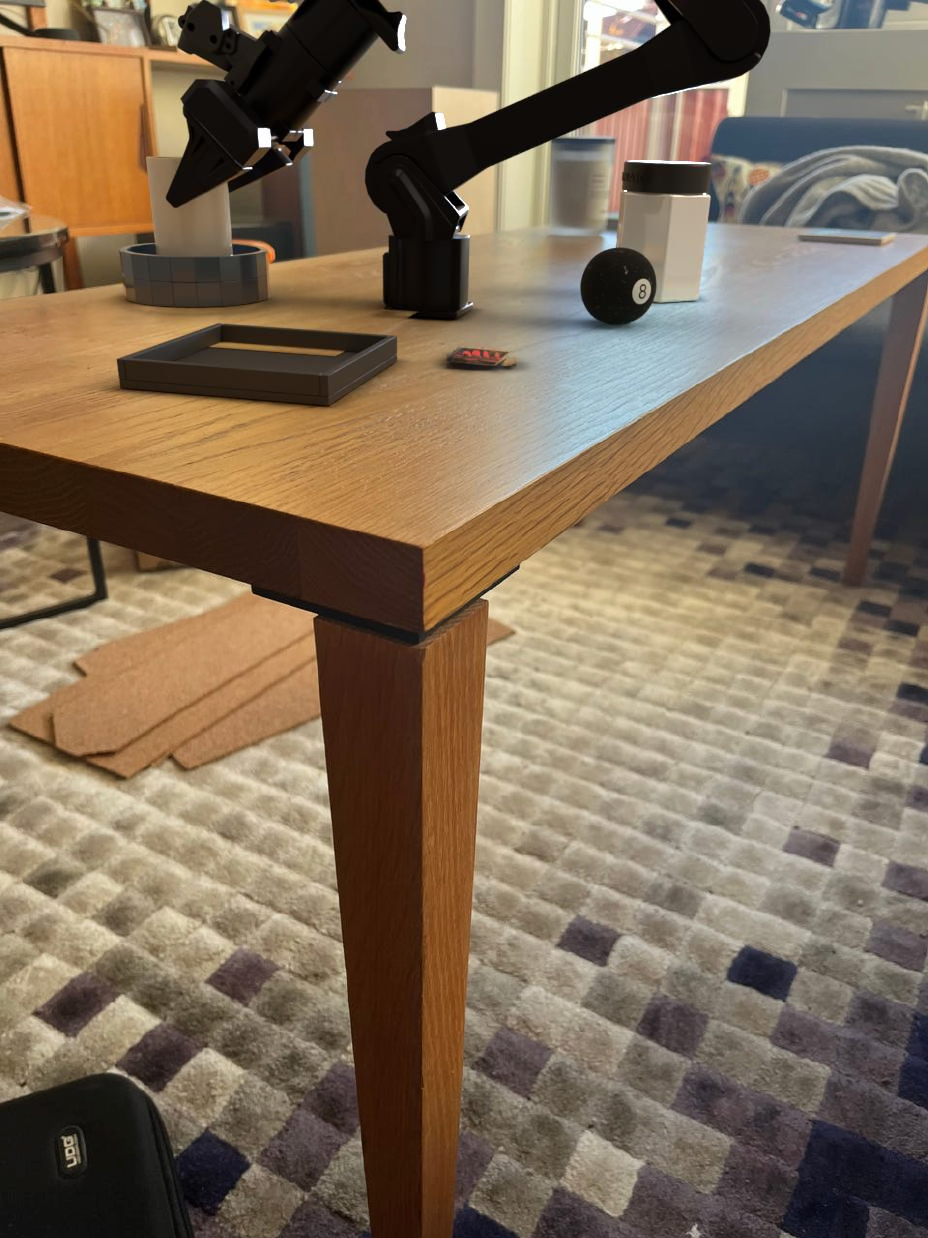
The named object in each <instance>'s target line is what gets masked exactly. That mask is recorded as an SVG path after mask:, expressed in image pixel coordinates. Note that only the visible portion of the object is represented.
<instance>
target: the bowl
mask: <svg viewBox="0 0 928 1238" xmlns="http://www.w3.org/2000/svg"><path fill="white" fill-rule="evenodd" d="M232 246H233V255H224V256H164V255H156V248H155V242H147V243H138V244H137V243H136V244H131V245H125V246H123V247H121V248H119V249H118V252H119V260H120V269H121V278H122V286H123V293H124V294H123V295H124V298H125V299H126V300H127V301H129V302H132V303H135V304H138V305H139V304H140V305H145V306H156V307H168V308H169V307H170V308H213V307H214V308H216V307H231V306H242V305H248V304H255V303H259V302H263V301H265V300H268V299H269V298H270V297H271V283H270V264H269V249H268V248H266V247H264V246H261V245H255V244H249V243H248V244H247V243H240V242H239V243H237V242H232Z"/></svg>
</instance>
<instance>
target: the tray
mask: <svg viewBox="0 0 928 1238" xmlns="http://www.w3.org/2000/svg"><path fill="white" fill-rule="evenodd" d="M220 343H235V344H236V343H237V344H246V345H247V344H248V345H260V346H261V345H262V346H273V347H274V346H277V347H290V348H303V349H316V350H328V351H329V350H331V351H342V352H340V353H338V354H337V355H335V356H334V355H322V354H309V353H298V352H297V353H295V352H282V351H270V350H269V351H267V350H255V349H244V348H243V349H242V348H231V347H230V348H229V347H218V346H217V347H214V346H216V345H218V344H220ZM397 362H398V336H397V335H394V334H391V335H389V334H378V333H365V332H363V333H362V332H351V331H350V332H349V331H336V330H323V329H322V330H320V329H309V328H308V329H307V328H294V327H293V328H291V327H279V326H263V325H250V324H235V323H224V322H223V323H221V322H220V323H219V322H218V323H214V324H212V325H209V326H206V327H204V328H201V329H198V330H195V331H192V332H189V333H185V334H183V335H181V336H177V337H175V338H172V339H169V340H167V341H163V342H161V343H158V344H154V345H152V346H149V347H145V348H144V349H140V350H137V351H135V352H132V353H130V354H126V355H124V356H121V357H118V358H116V366H117V374H118V375H117V376H118V379H119V380H118V382H119V383H118V384H119V388H120V389H128V390H129V389H130V390H141V391H153V392H162V393H174V394H186V395H187V394H188V395H197V396H199V395H200V396H209V397H222V398H233V399H245V400H255V401H256V400H258V401H268V402H269V401H270V402H279V403H280V402H281V403H293V404H301V405H313V406H314V405H316V406H327V407H329V406H331V405H332V404H334V403H336V402H337V401H338V400H340V399H341V398H343V397H345V396H346V395H347V394H349V393H351V392H352V391H353V390H355V389H357V388H358V387H360V386H361V385H363V384H364V383H366V382H368V381H369V380H371V379H372V378H374V377H375V376H377V375H378V374H380V373H382V372H383V371H384V370H386V369H388V367H390V366H392V365H393V364H396V363H397Z"/></svg>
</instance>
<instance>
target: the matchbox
mask: <svg viewBox="0 0 928 1238" xmlns="http://www.w3.org/2000/svg"><path fill="white" fill-rule="evenodd" d="M509 354H512V350H501V349H495V348H492V349H491V348H486V347H468V346H467V347H465V346H463V347H462V346H457V347H456V349H453V351H451V352H450V353H449V354H446V362H447V363H448V362H450V363H457V364H469V365H477V366H496V365H497V366H501V367H508V366H509V367H510V366H516V365H517V363H518V360H517V359H516V357H515V358H514V357H512V358H509V356H510V355H509ZM501 362H502V364H500V363H501ZM499 364H500V365H499ZM459 367H461V368H463V367H464V366H463V365H462V366H460V365H459Z"/></svg>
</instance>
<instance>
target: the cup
mask: <svg viewBox="0 0 928 1238" xmlns="http://www.w3.org/2000/svg"><path fill="white" fill-rule="evenodd" d="M182 156H183V155H152V156H150V155H149V156H146V157H145V160H146V161H145V162H146V171H147V177H148V178H147V180H148V189H149V190H148V191H149V196H150V197H149V199H150V209H151V210H150V211H151V218H152V228H153V237H154V238H153V239H154V243H155V248H156V255H164V256H224V255H233V246H232V243H233V235H232V221H231V206H230V194H229V191H228V182H226V183H225V184H223V185H221V186H219V187H217V188H215V189H213V190H211V191H209V192H207V193H205V194H204V195H202V196H200V197H198V198H196V199H194V200H192V201H190V202H188V203H186V204H184V205H182V206H180V207H178V208H174V207H172V206H171V204H170V203H169V202H168V201H167V200H166V195H167V192H168V190H169V187H170V185H171V183H172V180H173V178H174V176H175V173H176V171H177V168H178V166H179V164H180V161H181V159H182Z"/></svg>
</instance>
